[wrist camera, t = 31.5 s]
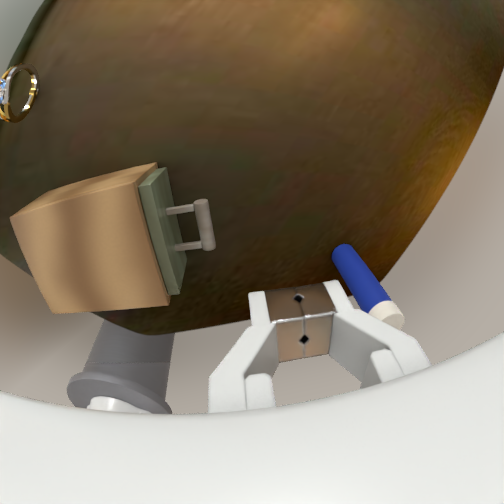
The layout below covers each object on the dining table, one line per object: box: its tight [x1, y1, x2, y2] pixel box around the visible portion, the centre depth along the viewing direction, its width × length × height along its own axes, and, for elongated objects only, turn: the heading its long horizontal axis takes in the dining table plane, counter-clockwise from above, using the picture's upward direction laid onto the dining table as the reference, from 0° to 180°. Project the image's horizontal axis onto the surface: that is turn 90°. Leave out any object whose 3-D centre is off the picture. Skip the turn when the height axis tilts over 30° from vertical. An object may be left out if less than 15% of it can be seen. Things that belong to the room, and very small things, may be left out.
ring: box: [0, 63, 39, 123], centre depth 18 cm, size 7×3×8 cm, turn 159°
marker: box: [332, 244, 404, 330], centre depth 30 cm, size 3×3×14 cm
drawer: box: [138, 167, 216, 295], centre depth 28 cm, size 19×11×7 cm, turn 96°
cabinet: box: [10, 162, 171, 314], centre depth 28 cm, size 16×13×9 cm
